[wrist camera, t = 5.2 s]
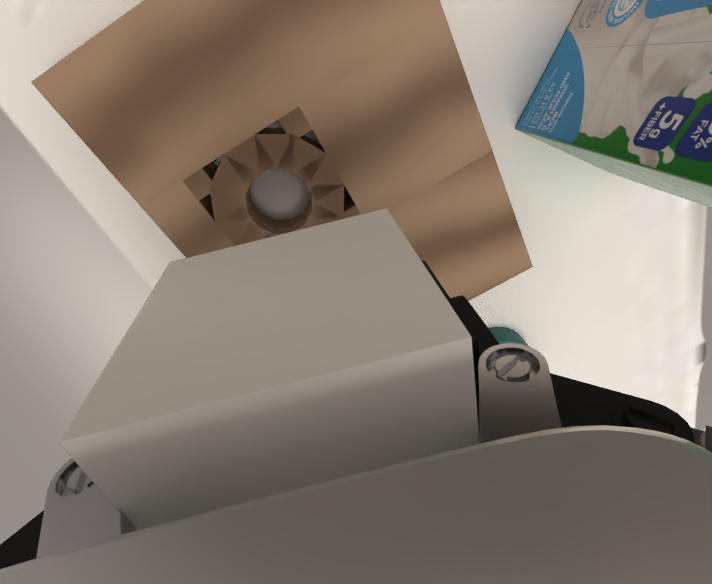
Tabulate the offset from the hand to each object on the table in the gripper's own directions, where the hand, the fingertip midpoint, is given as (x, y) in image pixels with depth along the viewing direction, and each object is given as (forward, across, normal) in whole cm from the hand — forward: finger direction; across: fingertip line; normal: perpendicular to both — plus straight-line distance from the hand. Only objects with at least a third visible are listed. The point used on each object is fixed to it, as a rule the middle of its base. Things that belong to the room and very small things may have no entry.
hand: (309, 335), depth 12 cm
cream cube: (+1, 0, 0) cm, 1 cm away
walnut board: (+18, -2, 0) cm, 18 cm away
